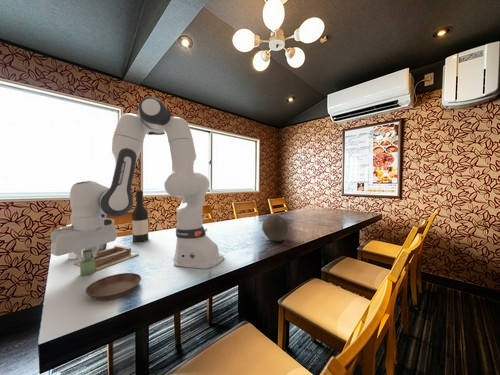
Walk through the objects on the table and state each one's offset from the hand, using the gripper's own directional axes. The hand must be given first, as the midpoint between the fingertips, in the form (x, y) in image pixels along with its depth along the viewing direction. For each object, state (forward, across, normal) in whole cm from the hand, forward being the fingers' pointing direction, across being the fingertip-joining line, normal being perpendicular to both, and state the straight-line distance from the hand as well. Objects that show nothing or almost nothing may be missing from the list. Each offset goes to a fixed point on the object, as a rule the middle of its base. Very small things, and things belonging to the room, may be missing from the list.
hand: (87, 259), depth 77 cm
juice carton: (+6, +18, +28) cm, 33 cm away
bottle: (+5, 0, 0) cm, 5 cm away
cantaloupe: (+6, +66, -54) cm, 86 cm away
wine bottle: (+6, +38, +20) cm, 43 cm away
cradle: (+5, +12, +7) cm, 15 cm away
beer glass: (+6, +8, +24) cm, 26 cm away
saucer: (+6, -4, -22) cm, 23 cm away
